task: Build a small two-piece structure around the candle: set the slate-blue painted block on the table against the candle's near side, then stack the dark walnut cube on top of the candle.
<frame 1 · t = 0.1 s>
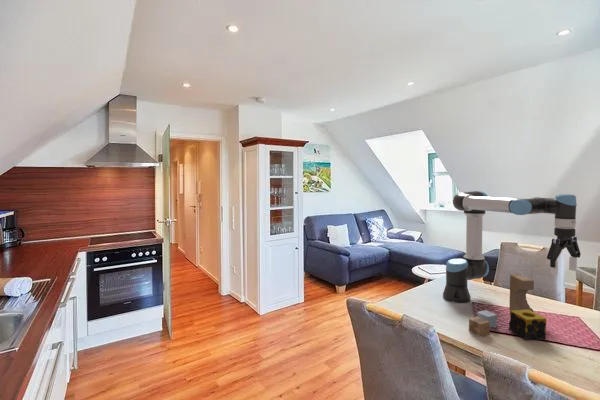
hand: (563, 272, 147), 28 cm above the table, fingers open, 13 cm apart
slate block: (486, 325, 156), on the table
decorative block: (520, 314, 167), on the table
walnut cube: (479, 332, 149), on the table
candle: (526, 335, 145), on the table
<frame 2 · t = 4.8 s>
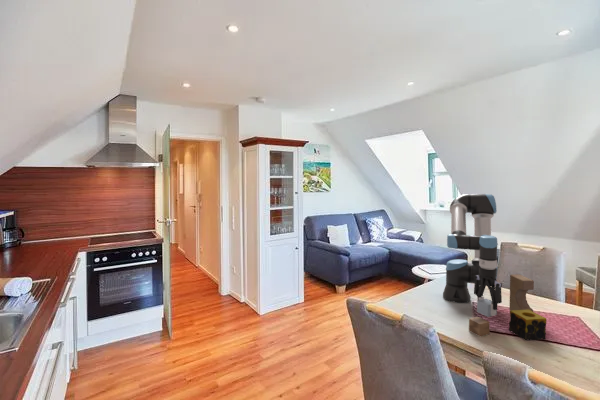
hand: (486, 312, 156), 6 cm above the table, fingers closed on slate block, 6 cm apart
slate block: (486, 313, 156), point 6 cm above the table, touching gripper
everything else where it was.
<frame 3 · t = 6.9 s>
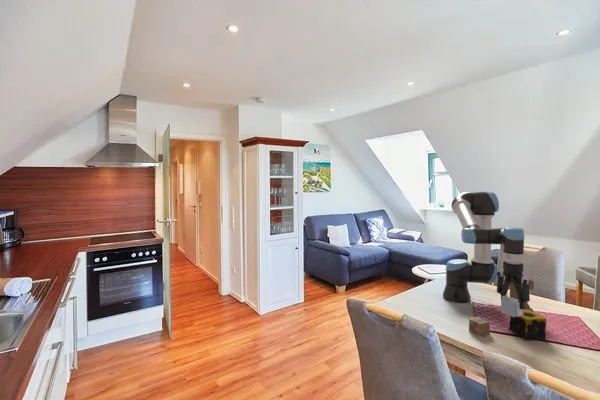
hand: (512, 312, 141), 12 cm above the table, fingers closed on slate block, 6 cm apart
slate block: (511, 313, 141), point 12 cm above the table, touching gripper
everything else where it was.
when the fingers open (1 cm above the table, at t = 9.1 s): slate block stays where it is, on the table.
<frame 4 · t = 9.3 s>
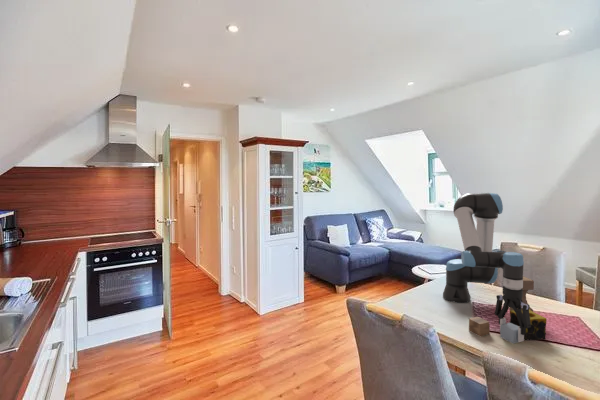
hand: (511, 336, 142), 1 cm above the table, fingers open, 8 cm apart
slate block: (511, 339, 142), on the table
everything else where it was.
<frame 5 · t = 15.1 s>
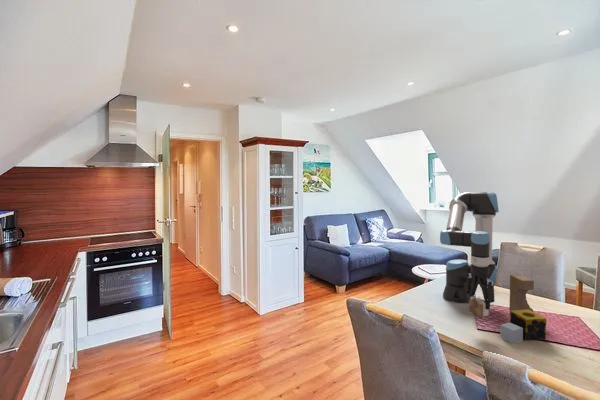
hand: (479, 312, 149), 10 cm above the table, fingers closed on walnut cube, 6 cm apart
walnut cube: (479, 313, 149), point 9 cm above the table, touching gripper
everything else where it was.
when the fingers open (10 cm above the table, at t = 20.0 s): walnut cube stays where it is, resting on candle.
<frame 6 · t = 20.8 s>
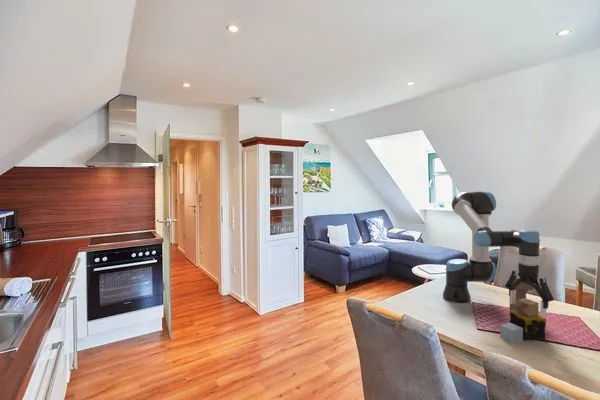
hand: (527, 309, 145), 12 cm above the table, fingers open, 13 cm apart
walnut cube: (527, 314, 145), point 10 cm above the table, touching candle
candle: (526, 335, 146), on the table, touching walnut cube
everything else where it was.
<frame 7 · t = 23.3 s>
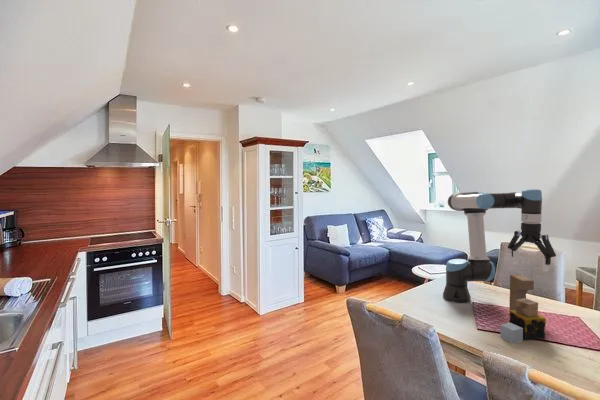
hand: (529, 267, 147), 31 cm above the table, fingers open, 13 cm apart
nothing on the table moved.
at the end: walnut cube 0.2 cm from the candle (horizontally); walnut cube point 9.9 cm above the table; slate block inside the target area on the table beside the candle (0.5 cm from its centre), on the table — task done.
